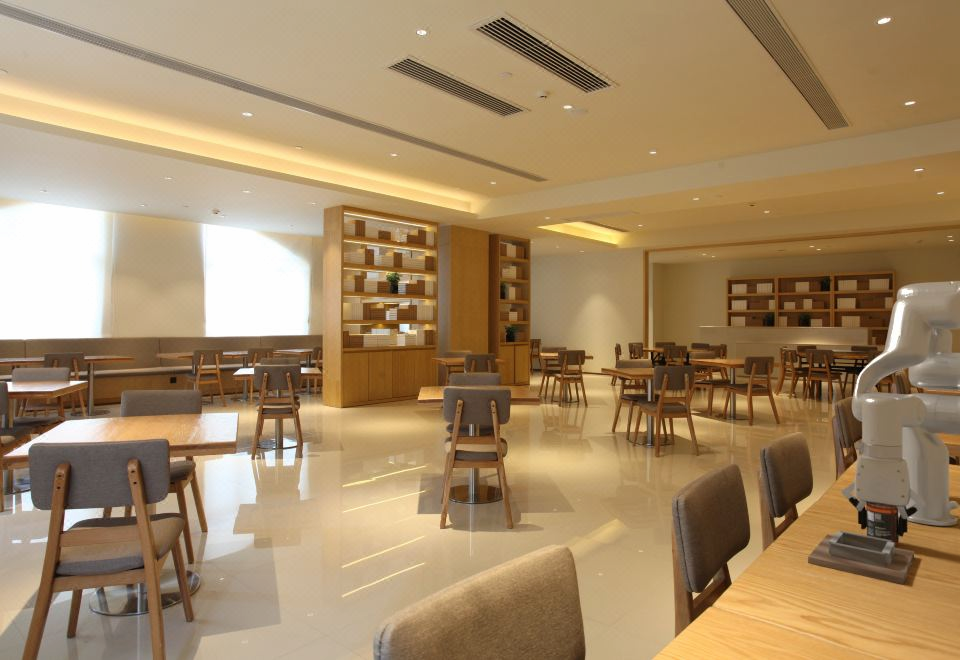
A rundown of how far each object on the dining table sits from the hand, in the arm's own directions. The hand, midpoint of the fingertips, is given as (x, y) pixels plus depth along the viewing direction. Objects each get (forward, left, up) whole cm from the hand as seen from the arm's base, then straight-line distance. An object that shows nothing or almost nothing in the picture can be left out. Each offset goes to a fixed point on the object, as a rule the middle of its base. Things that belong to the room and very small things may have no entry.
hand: (882, 530), depth 133 cm
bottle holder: (+14, +5, -3) cm, 15 cm away
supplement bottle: (0, 0, -3) cm, 3 cm away
